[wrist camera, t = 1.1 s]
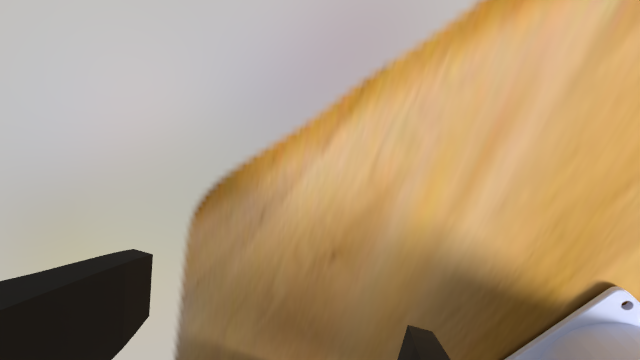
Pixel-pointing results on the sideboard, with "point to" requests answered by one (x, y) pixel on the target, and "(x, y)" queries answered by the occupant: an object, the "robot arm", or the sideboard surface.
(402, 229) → the sideboard surface
